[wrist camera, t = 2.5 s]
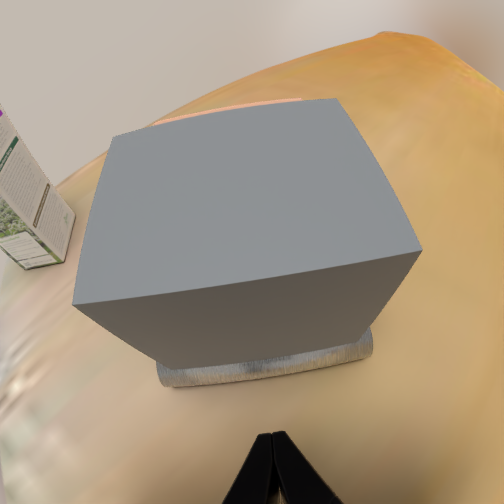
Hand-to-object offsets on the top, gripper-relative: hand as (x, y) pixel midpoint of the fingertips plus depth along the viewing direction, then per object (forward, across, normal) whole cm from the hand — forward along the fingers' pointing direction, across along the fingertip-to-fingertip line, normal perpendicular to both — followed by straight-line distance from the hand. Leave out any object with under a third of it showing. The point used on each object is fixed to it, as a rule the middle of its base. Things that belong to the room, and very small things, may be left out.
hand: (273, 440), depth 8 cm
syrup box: (+18, +19, -6) cm, 27 cm away
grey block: (+9, 0, -2) cm, 10 cm away
